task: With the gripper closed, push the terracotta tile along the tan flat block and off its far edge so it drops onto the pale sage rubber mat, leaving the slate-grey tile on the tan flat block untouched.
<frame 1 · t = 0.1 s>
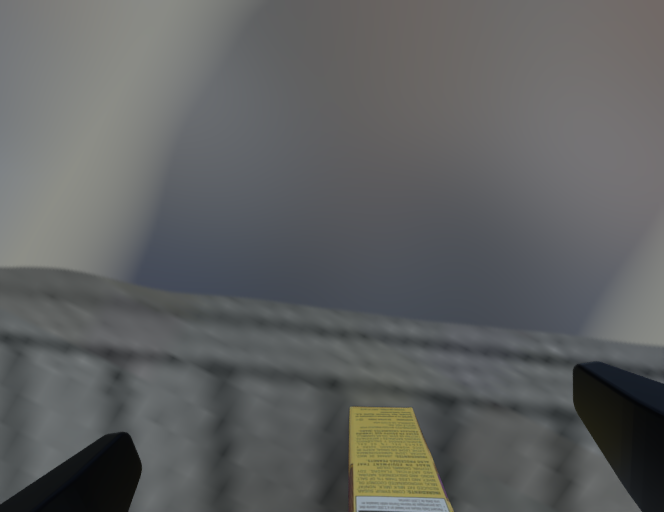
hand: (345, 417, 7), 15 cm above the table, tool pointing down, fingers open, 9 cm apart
candy box: (382, 471, 23), on the table
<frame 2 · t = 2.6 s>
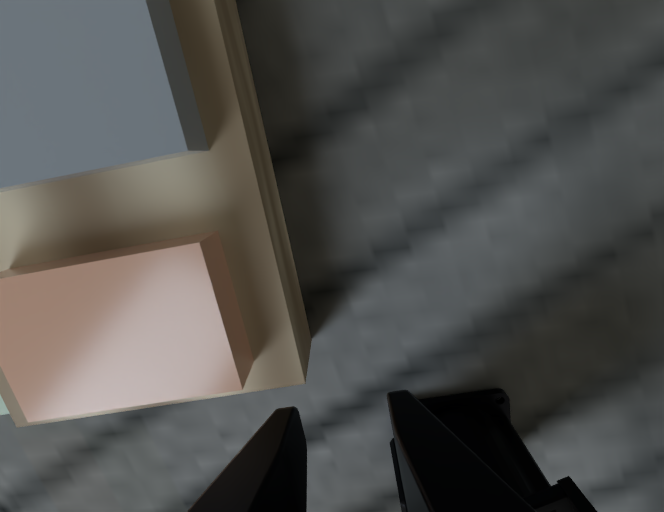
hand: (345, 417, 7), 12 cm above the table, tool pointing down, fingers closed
tan flat block: (139, 202, 18), on the table
slate tile: (66, 89, 13), point 4 cm above the table, touching tan flat block
terracotta tile: (135, 316, 16), point 4 cm above the table, touching tan flat block
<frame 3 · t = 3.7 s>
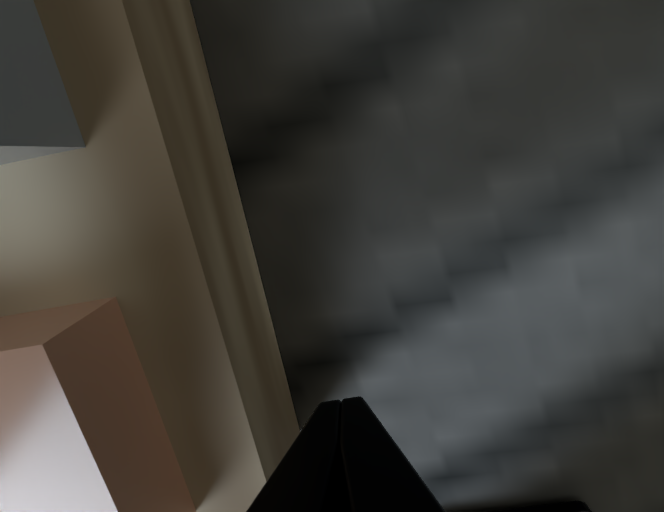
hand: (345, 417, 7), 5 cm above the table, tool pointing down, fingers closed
tan flat block: (24, 231, 12), on the table
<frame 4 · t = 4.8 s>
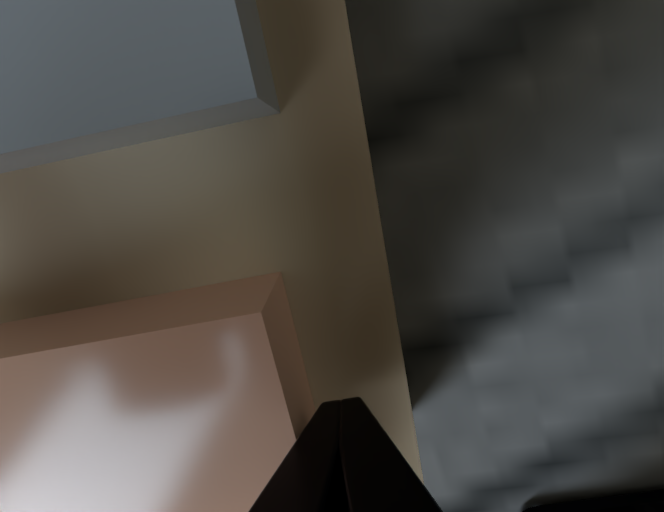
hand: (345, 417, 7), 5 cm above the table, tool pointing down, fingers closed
tan flat block: (140, 213, 11), on the table
terracotta tile: (127, 422, 9), point 4 cm above the table, touching tan flat block, gripper
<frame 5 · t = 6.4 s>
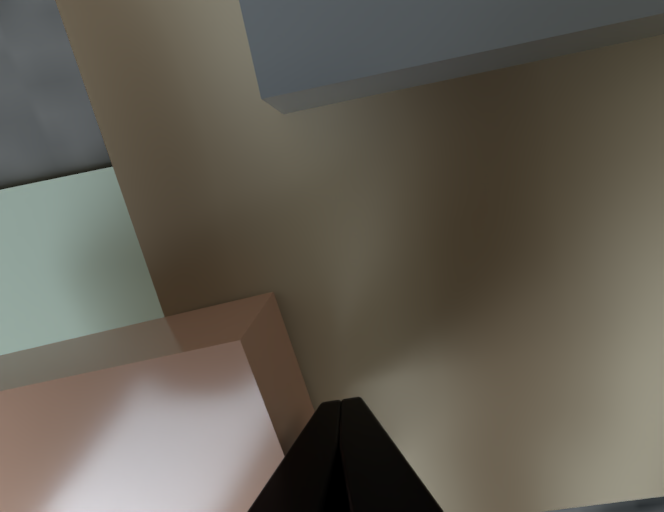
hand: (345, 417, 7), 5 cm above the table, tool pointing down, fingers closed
tan flat block: (429, 156, 11), on the table
mat: (50, 362, 13), on the table
terracotta tile: (143, 440, 9), point 4 cm above the table, touching tan flat block
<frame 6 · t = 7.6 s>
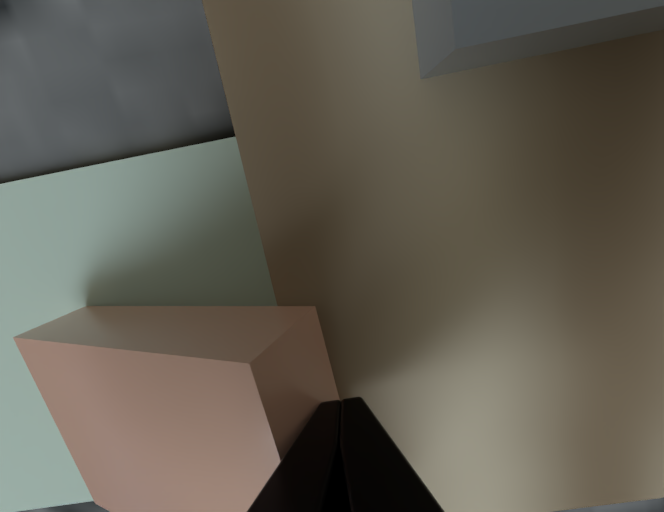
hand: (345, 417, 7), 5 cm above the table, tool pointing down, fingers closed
tan flat block: (517, 137, 11), on the table
mat: (113, 349, 13), on the table
terracotta tile: (208, 402, 10), point 2 cm above the table, tilted 28°, touching tan flat block, gripper, mat
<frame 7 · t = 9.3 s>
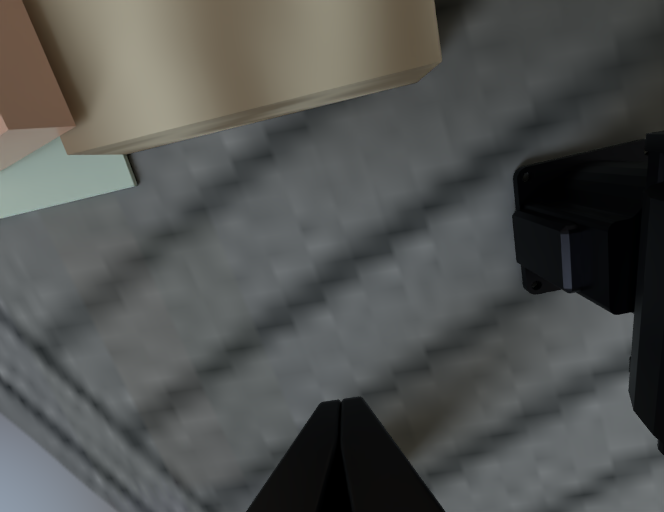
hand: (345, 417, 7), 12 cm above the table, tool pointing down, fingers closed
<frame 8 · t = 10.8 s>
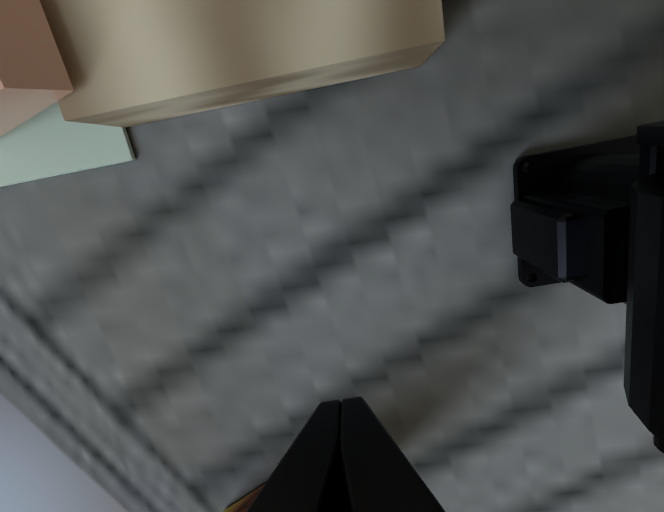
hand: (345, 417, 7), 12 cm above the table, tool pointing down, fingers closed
candy box: (291, 490, 23), on the table
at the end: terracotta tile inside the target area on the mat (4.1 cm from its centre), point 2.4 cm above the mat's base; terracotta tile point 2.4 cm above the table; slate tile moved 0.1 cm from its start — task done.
